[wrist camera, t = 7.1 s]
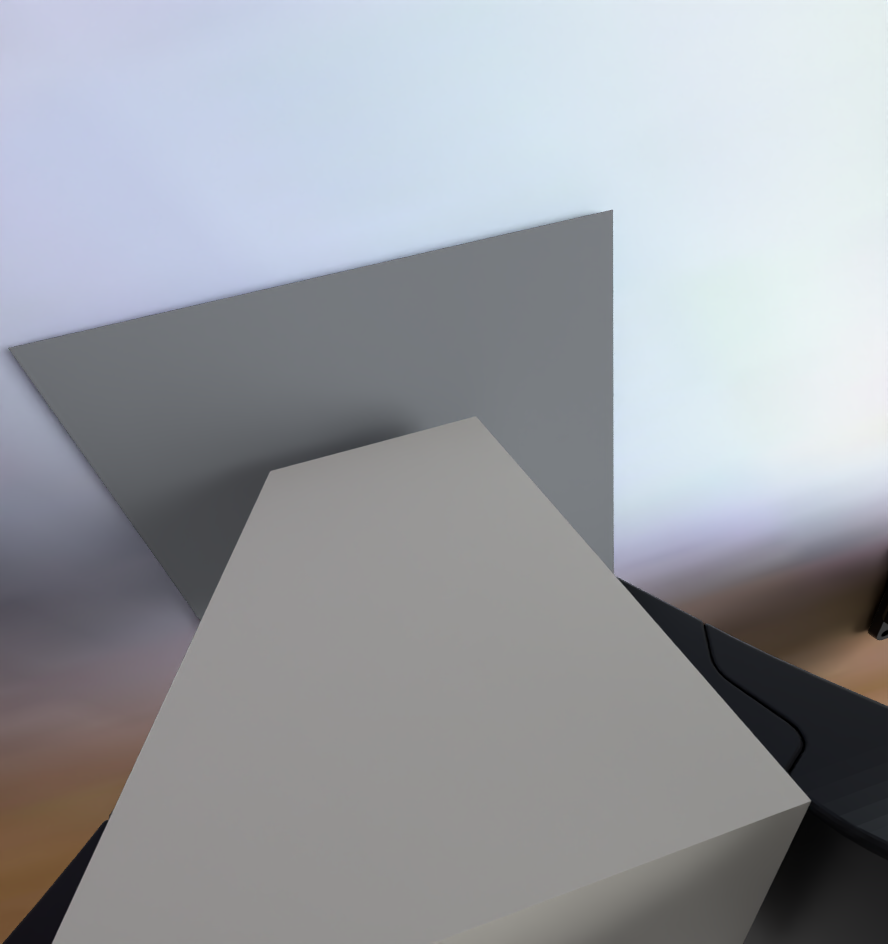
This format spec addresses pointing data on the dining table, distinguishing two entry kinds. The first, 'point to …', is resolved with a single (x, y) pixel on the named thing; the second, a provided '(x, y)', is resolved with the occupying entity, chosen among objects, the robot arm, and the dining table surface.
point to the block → (433, 735)
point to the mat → (347, 384)
